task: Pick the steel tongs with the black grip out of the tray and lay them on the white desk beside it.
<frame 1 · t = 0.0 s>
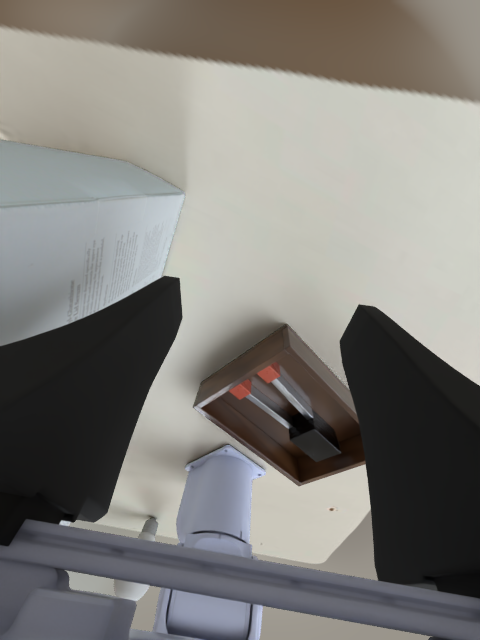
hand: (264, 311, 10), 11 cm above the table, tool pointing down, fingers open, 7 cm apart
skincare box: (126, 292, 22), on the table
lightbulb: (153, 517, 47), on the table
tongs: (292, 407, 27), resting on tray
tray: (292, 403, 27), on the table
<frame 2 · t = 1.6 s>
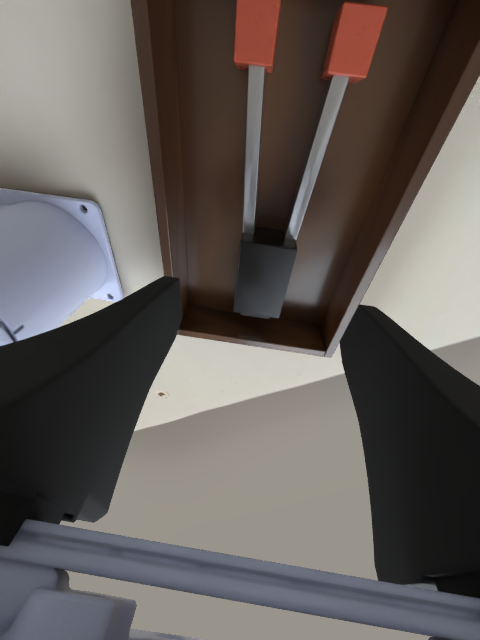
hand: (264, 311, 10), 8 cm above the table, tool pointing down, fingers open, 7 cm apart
tongs: (272, 209, 14), resting on tray
tray: (272, 207, 15), on the table
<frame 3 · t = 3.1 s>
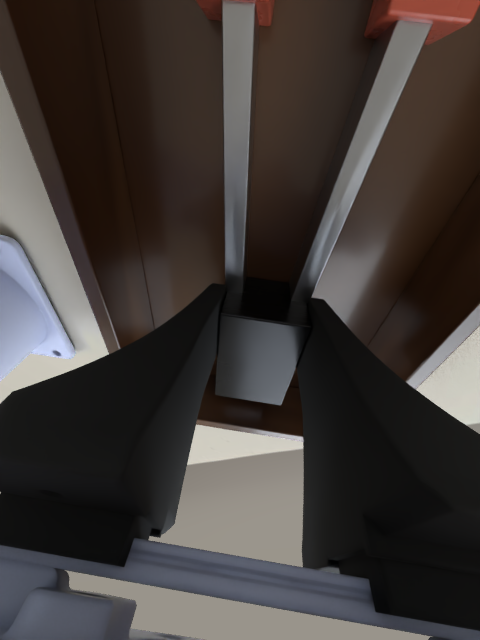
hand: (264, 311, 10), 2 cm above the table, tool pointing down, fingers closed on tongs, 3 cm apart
tongs: (272, 254, 9), resting on tray, touching gripper
tray: (273, 249, 10), on the table
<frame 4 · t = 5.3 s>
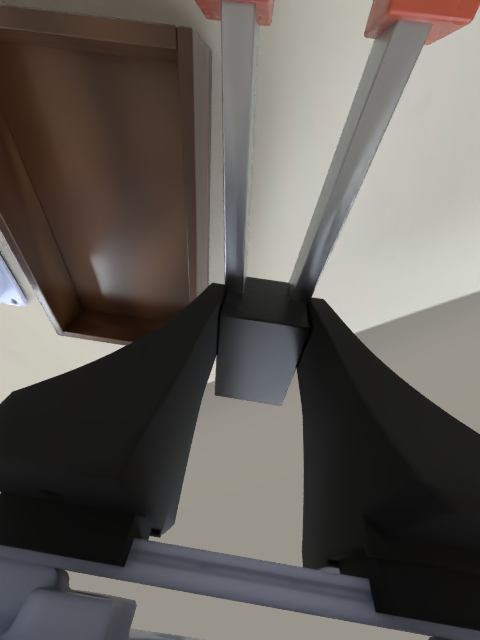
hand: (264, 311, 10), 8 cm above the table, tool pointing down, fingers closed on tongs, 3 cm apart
tongs: (272, 254, 9), point 7 cm above the table, touching gripper
tray: (125, 225, 17), on the table
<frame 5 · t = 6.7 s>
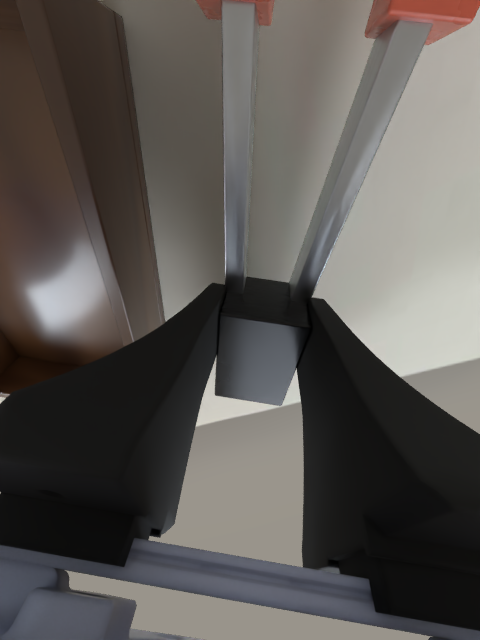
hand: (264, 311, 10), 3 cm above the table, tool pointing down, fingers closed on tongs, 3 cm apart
tongs: (272, 254, 9), point 2 cm above the table, touching gripper
tray: (49, 263, 13), on the table
when the fingers open (1 cm above the table, at t = 7.6 s): tongs stays where it is, on the table.
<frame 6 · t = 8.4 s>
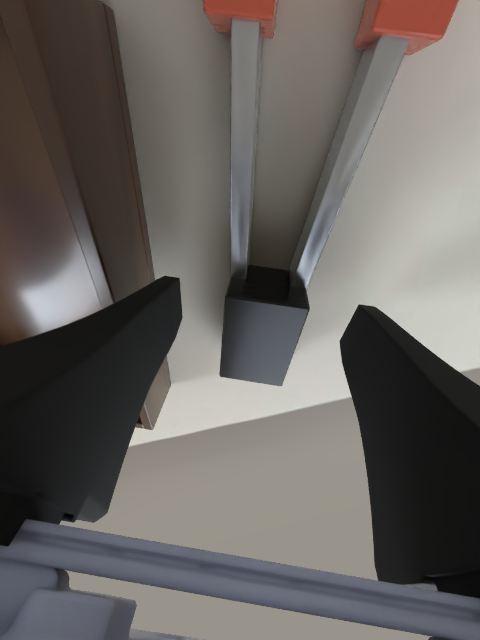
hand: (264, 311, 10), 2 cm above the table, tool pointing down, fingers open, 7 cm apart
tongs: (273, 244, 10), on the table
tray: (42, 267, 12), on the table
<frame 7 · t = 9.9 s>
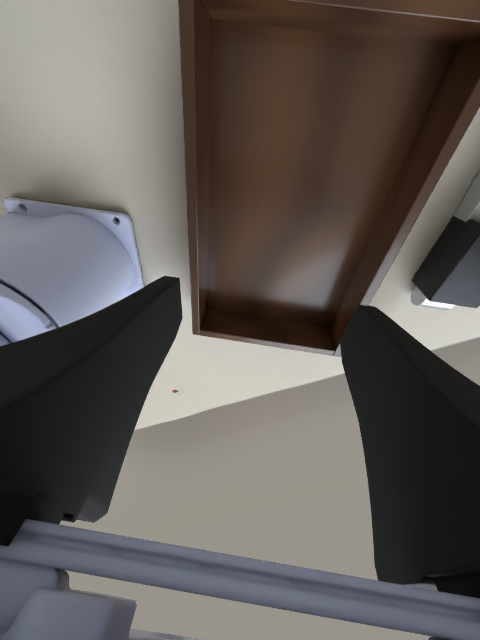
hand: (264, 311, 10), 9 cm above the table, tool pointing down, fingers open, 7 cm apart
tray: (288, 220, 16), on the table
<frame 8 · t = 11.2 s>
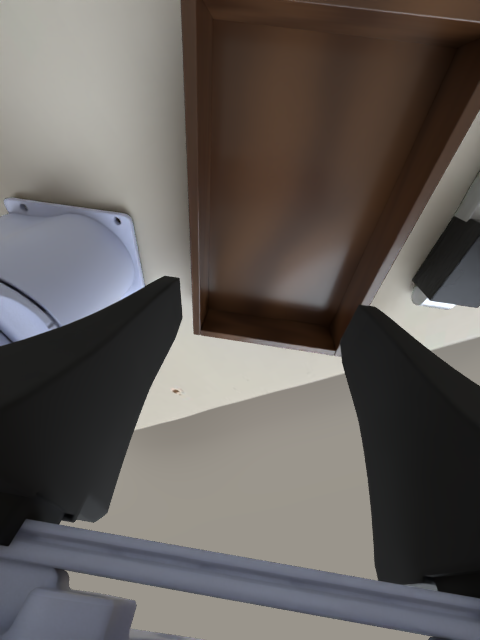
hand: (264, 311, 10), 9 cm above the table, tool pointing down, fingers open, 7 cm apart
tray: (289, 220, 16), on the table
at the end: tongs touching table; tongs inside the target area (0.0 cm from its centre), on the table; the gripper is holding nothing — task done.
